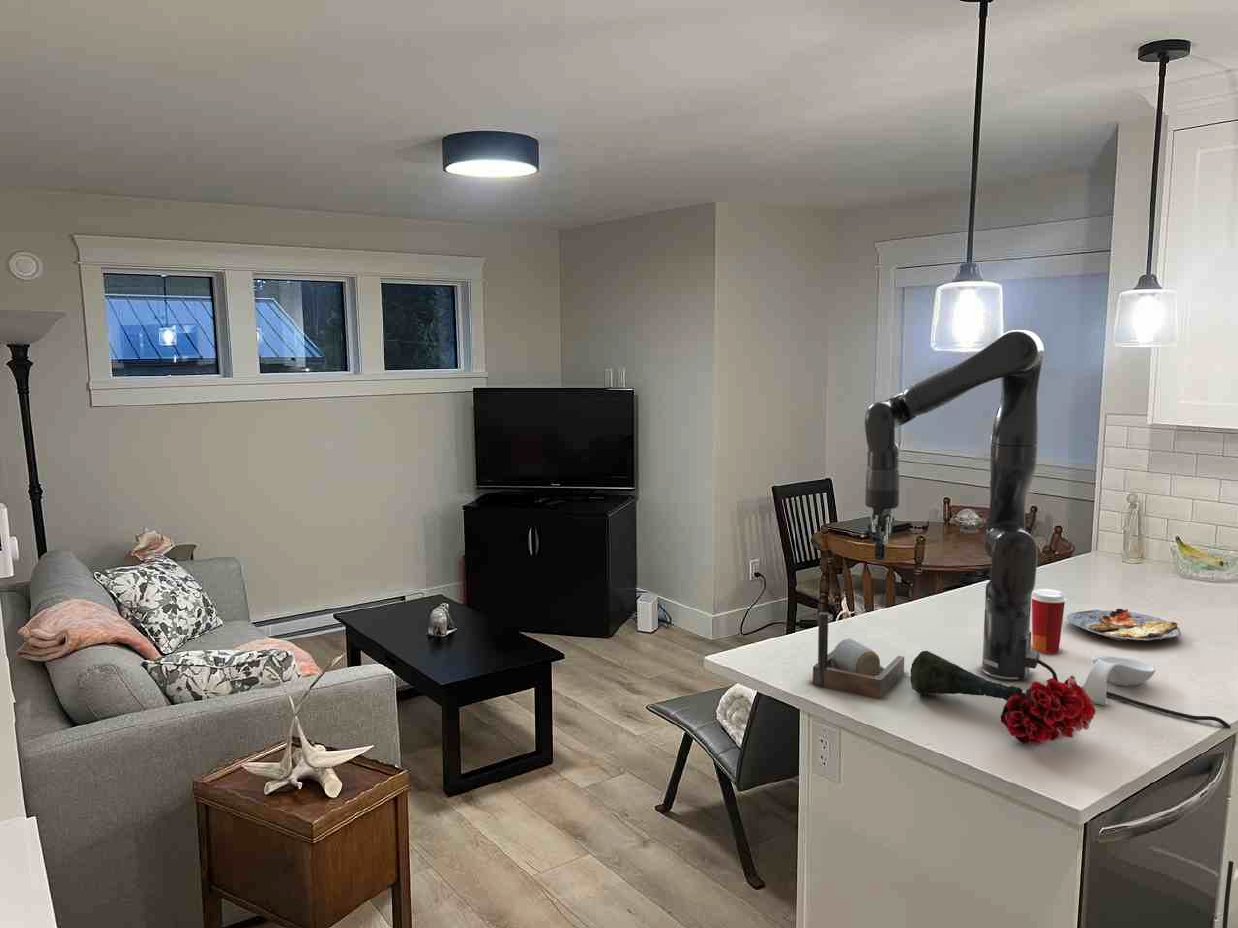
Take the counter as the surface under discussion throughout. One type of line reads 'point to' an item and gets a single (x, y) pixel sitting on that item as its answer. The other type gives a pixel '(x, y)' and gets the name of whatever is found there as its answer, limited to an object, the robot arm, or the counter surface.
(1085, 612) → the food plate
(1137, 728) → the counter surface
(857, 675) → the wooden post tray
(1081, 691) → the carnation
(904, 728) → the counter surface
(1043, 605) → the paper cup
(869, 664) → the ceramic mug
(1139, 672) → the spoon rest
